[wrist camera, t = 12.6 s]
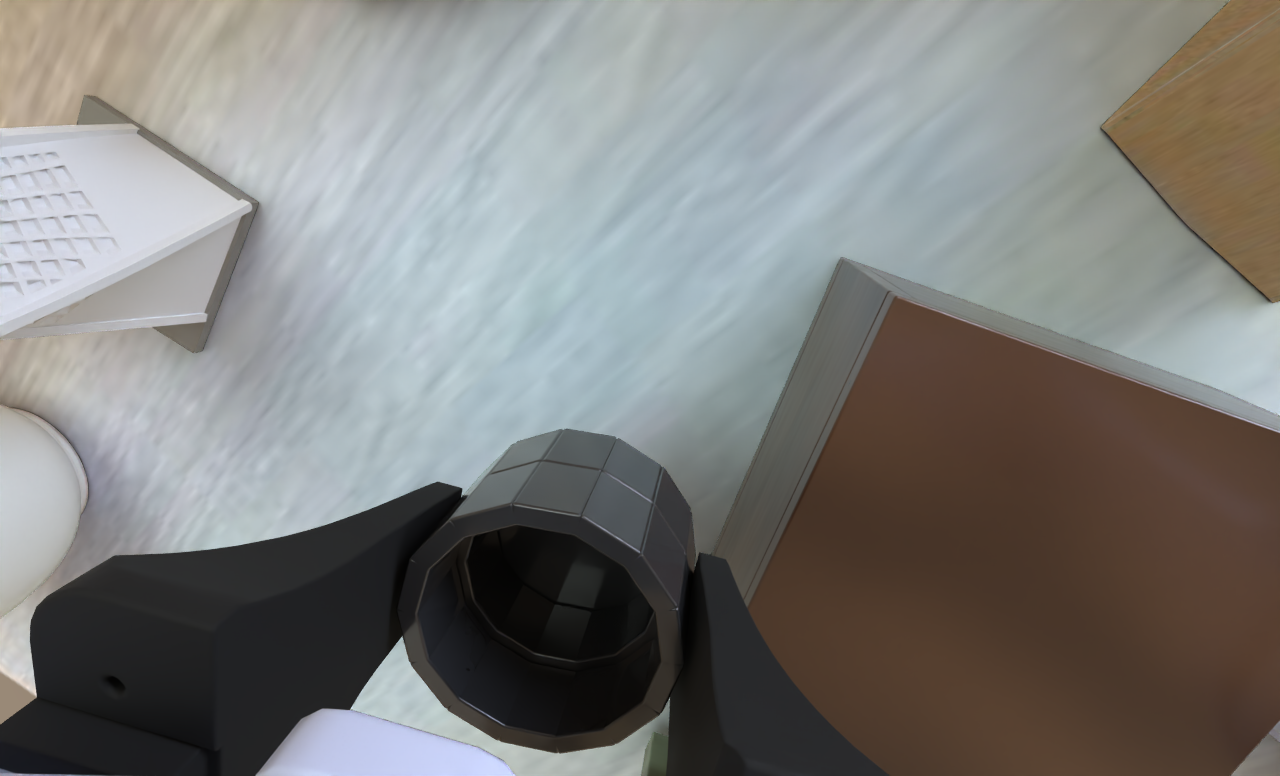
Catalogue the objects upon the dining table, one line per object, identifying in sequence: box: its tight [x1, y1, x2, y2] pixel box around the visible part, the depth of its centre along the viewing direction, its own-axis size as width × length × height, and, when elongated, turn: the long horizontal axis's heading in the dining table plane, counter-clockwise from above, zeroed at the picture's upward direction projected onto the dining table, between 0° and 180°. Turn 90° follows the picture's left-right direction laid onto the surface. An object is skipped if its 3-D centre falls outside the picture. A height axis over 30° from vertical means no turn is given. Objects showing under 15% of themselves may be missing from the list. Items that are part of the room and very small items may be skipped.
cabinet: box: [711, 257, 1280, 776], centre depth 20 cm, size 13×13×8 cm
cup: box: [396, 429, 696, 754], centre depth 14 cm, size 6×6×4 cm
